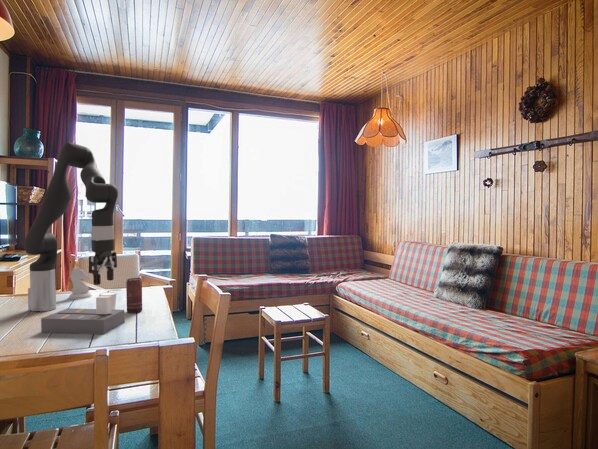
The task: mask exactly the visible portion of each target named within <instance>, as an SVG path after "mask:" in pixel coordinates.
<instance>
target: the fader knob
mask: <svg viewBox="0 0 598 449" xmlns="http://www.w3.org/2000/svg"><path fill="white" fill-rule="evenodd" d="M95 304H96V305H95V306H96V307H95V309H96V314H101V315H107V314H109V313H111V296H99V295H98V296H97V297H95Z"/></svg>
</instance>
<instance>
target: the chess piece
mask: <svg viewBox="0 0 598 449" xmlns="http://www.w3.org/2000/svg"><path fill="white" fill-rule="evenodd" d="M70 280H71V283H72V285H73V286H72V289H71V290H70V291H71V293H70V294H69V296H68V299H70V300H83V299H89V298H91V297H92V296H93V295H92V293H91V292H89V291H90V288H89V286H88V285H87V284H86V282H88V281H90V275H87V274H86V273H85V271H84V270H83V269H82V268H80V267H79V266H75V267H74V268H72V270H71V272H70ZM84 281H85V282H84Z"/></svg>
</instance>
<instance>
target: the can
mask: <svg viewBox="0 0 598 449" xmlns="http://www.w3.org/2000/svg"><path fill="white" fill-rule="evenodd" d="M125 286H126V288H125V289H126V292H125V293H126V312H127V313H128V314H137V313H140V312H142V311H143V280H142V279H141V278H139V277H137V278H136V277H135V278H134V277H132V278H127V279H126V282H125Z"/></svg>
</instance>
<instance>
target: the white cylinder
mask: <svg viewBox="0 0 598 449" xmlns="http://www.w3.org/2000/svg"><path fill="white" fill-rule="evenodd" d="M99 296H111V309H114V310H116V308H117V307H116V305H117V303H116V302H117V292H114V291H113V292H109V291H107V292H103V293H99V295H98V297H99Z"/></svg>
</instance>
